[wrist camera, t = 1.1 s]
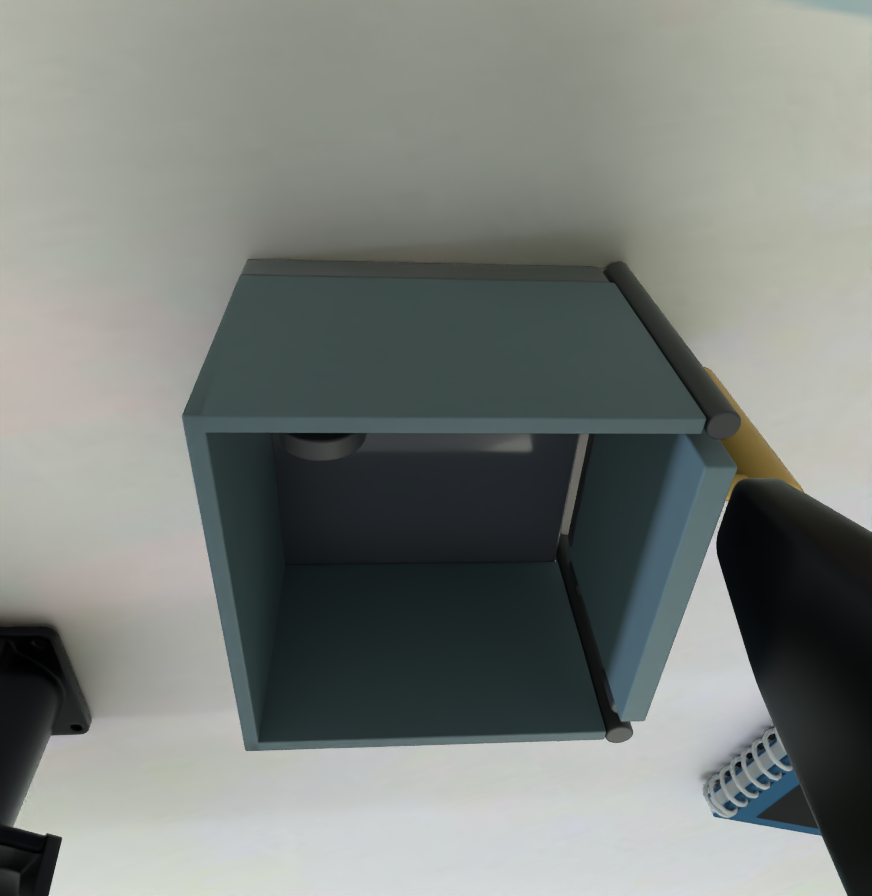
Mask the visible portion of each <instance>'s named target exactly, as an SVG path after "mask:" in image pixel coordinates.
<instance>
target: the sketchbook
mask: <svg viewBox="0 0 872 896" xmlns="http://www.w3.org/2000/svg"><path fill="white" fill-rule="evenodd" d="M770 734H775V735H776V738H775V739H774V740H773V741H771V740H769V739H768V737H769V735H770ZM760 743H763V745H764V748H763V749H762V750H760V749H758V748H756V747H757V746H758V744H760ZM751 752H752V756H753V757H752V758H751V759H749V758H747V757H746V755H747V753H751ZM739 761H741V765H742V766H741V767H740V768H738V767H736V766H735V764H736V763H737V762H739ZM728 770H730V774H731V776H729V777H728V776H727V775H724V774H725V772H726V771H728ZM717 779H720V783H719V782H717V781H716V780H717ZM724 779H725V781H724ZM714 785H715V786H717V787H716V788H715V789H714ZM708 787H709V791H710V793H709V794H708ZM703 795H704V797H705V799H706V801H707V803H708V805H709V806H710V808H711V811H712V813H713V816H714V817H719V818H724V819H730V820H736V821H741V822H747V823H753V824H758V825H764V826H770V827H775V828H781V829H787V830H792V831H798V832H804V833H809V834H815V835H821V833H820V830H819V828H818V826H817V823H816V821H815V819H814V816H813V814H812V812H811V809H810V807H809V805H808V802H807V800H806V798H805V795H804V793H803V791H802V788H801V786H800V784H799V781H798V779H797V777H796V774H795V772H794V770H793V767H792V765H791V763H790V760H789V758H788V756H787V753H786V751H785V749H784V746H783V744H782V742H781V739H780V737H779V735H778V732H777V730H776V728H774V729H768V730H766V731H765V733H764V735H763V738H760V739H756V740H755V741H754V742H753V744H752V747H749V748H746V749H744V750H743V751H742V753H741V756H738V757H735V758H734V759H733V760H732V762H731V764H730V765H727V766H725V767H723V768H722V769H721V771H720V774H716V775H714V776H712V777H711V780H710V781H707V782H706V783H705V784H704V785H703ZM821 836H822V835H821Z"/></svg>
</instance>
